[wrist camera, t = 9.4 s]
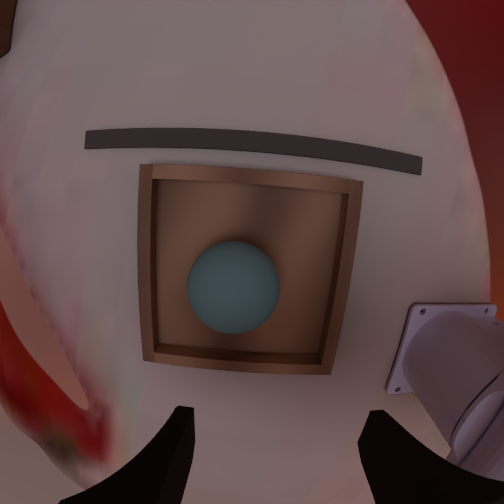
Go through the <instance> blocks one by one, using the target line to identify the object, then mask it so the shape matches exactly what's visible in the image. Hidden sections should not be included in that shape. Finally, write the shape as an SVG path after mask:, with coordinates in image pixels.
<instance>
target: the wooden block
mask: <svg viewBox="0 0 504 504" xmlns="http://www.w3.org/2000/svg"><path fill="white" fill-rule="evenodd" d="M15 5H16V0H0V57H1V56H2V55H4V54H5V53H7V52H8V50H9V46H10V37H11V30H12V23H13V16H14V10H15Z"/></svg>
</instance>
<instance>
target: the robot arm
mask: <svg viewBox="0 0 504 504" xmlns="http://www.w3.org/2000/svg"><path fill="white" fill-rule="evenodd" d="M422 309H424V310H423V312H422V313H420V311H421V310H422ZM485 309H486V310H485ZM496 311H497V306H496V305H495V304H414V305H413V306H412V307H411V309H410V312H409V315H408V319H407V323H406V327H405V330H404V334H403V337H402V341H401V344H400V347H399V351H398V354H397V357H396V360H395V363H394V366H393V369H392V372H391V375H390V378H389V381H388V384H387V386H386V392H387V394H390V395H391V394H401V393H410V392H414V393H415V394H416V395H417V397H418V398H419V400H420V401H421V403H422V404H423V406H424V407H425V409H426V411H427V412H428V414H429V415H430V417H431V418H432V420H433V421H434V423H435V424H436V426H437V427H438V429H439V431H440V432H441V434H442V435H443V437H444V438H445V440H446V442H447V443H448V445H449V446H450V448H451V450H450V453H449V454H448V456H447V457H446V460H445V459H443V458H442V457H440V456H438V455H437V454H435V453H434V452H433V451H431V450H430V449H428V448H427V447H426V446H424V445H423V444H422V443H421V442H419V441H418V440H417V439H416V438H415V437H413V436H412V435H411V434H410V433H409V432H408V431H406V430H405V429H404V428H403V427H402V426H401V425H400V424H399V423H398V422H397V421H395V420H394V419H393V418H392V417H391V416H390V415H389V414H388V413H387V412H385V411H384V410H374V411H370V413H369V416H368V418H367V421H366V423H365V426H364V428H363V431H362V433H361V435H360V438H359V440H358V442H357V443H358V448H359V454H360V458H361V463H362V466H363V469H364V472H365V474H366V477H367V480H368V483H369V486H370V489H371V491H372V494H373V497H374V500H375V503H376V504H504V323H503V322H501V321H500V320H499V319H497V318H496V317H495V314H496ZM396 388H397V389H396ZM194 446H195V425H194V408H192V407H185V406H177V407H176V408H175V410H174V411H173V413H172V414H171V416H170V417H169V419H168V420H167V422H166V423H165V424H164V426H163V427H162V428H161V429H160V431H159V432H158V433H157V434H156V435H155V437H154V438H153V439H152V440H151V441H150V442H149V443H148V444H147V445H146V446H145V447H144V448H143V449H142V450H141V451H140V452H139V453H138V454H137V455H136V456H135V457H134V458H133V459H132V460H131V461H130V462H128V463H127V464H126V465H125V466H123V467H122V468H121V469H119V470H118V471H117V472H115V473H114V474H112V475H111V476H110V477H108V478H107V479H105V480H103V481H102V482H100V483H98V484H96V485H94V486H92V487H91V488H89V489H87V490H85V491H83V492H81V493H78V494H76V495H73V496H71V497H69V498H66V499H63V500H61V501H60V502H59V503H58V504H181V501H182V497H183V494H184V490H185V486H186V483H187V479H188V475H189V472H190V468H191V464H192V460H193V453H194Z"/></svg>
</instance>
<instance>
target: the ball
mask: <svg viewBox="0 0 504 504" xmlns="http://www.w3.org/2000/svg"><path fill="white" fill-rule="evenodd" d="M186 287H187V296H188V300H189V304H190V306H191V308H192V310H193V312H194V313H195V315H196V316H197V317H198V318H199V320H200V321H201V322H203V323H204V324H205V325H206V326H208V327H209V328H211V329H213V330H215V331H218V332H221V333H226V334H241V333H246V332H249V331H251V330H254V329H256V328H257V327H259V326H261V325H262V324H263V323H264V322H265V321H266V320H267V319H268V318H269V317H270V316H271V315H272V313H273V311H274V310H275V308H276V306H277V303H278V300H279V295H280V280H279V276H278V272H277V270H276V267H275V266H274V264H273V262H272V261H271V259H270V258H269V257H268V256H267V255H266V254H265V253H264V252H263V251H262V250H261V249H259V248H257V247H256V246H254V245H252V244H249V243H246V242H241V241H225V242H220V243H218V244H215V245H213V246H211V247H209V248H207V249H206V250H205V251H203V252H202V253H201V254H200V255H199V256H198V257H197V259H196V260H195V261H194V263H193V265H192V267H191V268H190V271H189V274H188V278H187V286H186Z"/></svg>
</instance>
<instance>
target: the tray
mask: <svg viewBox="0 0 504 504" xmlns="http://www.w3.org/2000/svg"><path fill="white" fill-rule="evenodd" d="M362 192H363V181H356V180H349V179H341V178H334V177H326V176H318V175H309V174H300V173H290V172H280V171H269V170H257V169H245V168H230V167H213V166H192V165H161V164H140V171H139V191H138V230H137V252H138V291H139V311H140V326H141V339H142V351H143V361H149V362H156V363H163V364H170V365H178V366H186V367H195V368H204V369H214V370H225V371H238V372H253V373H272V374H309V375H330V374H331V370H332V366H333V362H334V358H335V353H336V349H337V345H338V340H339V336H340V331H341V326H342V321H343V316H344V311H345V306H346V301H347V296H348V290H349V285H350V279H351V273H352V267H353V261H354V254H355V247H356V240H357V233H358V226H359V218H360V210H361V201H362ZM225 241H241V242H246V243H249V244H252V245H254V246H256V247H257V248H259V249H261V250H262V251H263V252H264V253H265V254H266V255H267V256H268V257H269V258H270V259H271V261H272V262H273V264H274V266H275V267H276V270H277V272H278V276H279V280H280V295H279V300H278V303H277V306H276V308H275V310H274V311H273V313H272V315H271V316H270V317H269V318H268V319H267V320H266V321H265V322H264V323H263V324H262V325H261V326H259V327H257V328H256V329H254V330H251V331H249V332H246V333H241V334H226V333H221V332H218V331H215V330H213V329H211V328H209V327H208V326H206V325H205V324H204V323H203V322H201V321H200V320H199V318H198V317H197V316H196V315H195V313H194V312H193V310H192V308H191V306H190V304H189V300H188V296H187V287H186V286H187V278H188V274H189V271H190V268H191V267H192V265H193V263H194V261H195V260H196V259H197V257H198V256H199V255H200V254H201V253H202V252H203V251H205V250H206V249H207V248H209V247H211V246H213V245H215V244H218V243H220V242H225Z"/></svg>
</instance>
